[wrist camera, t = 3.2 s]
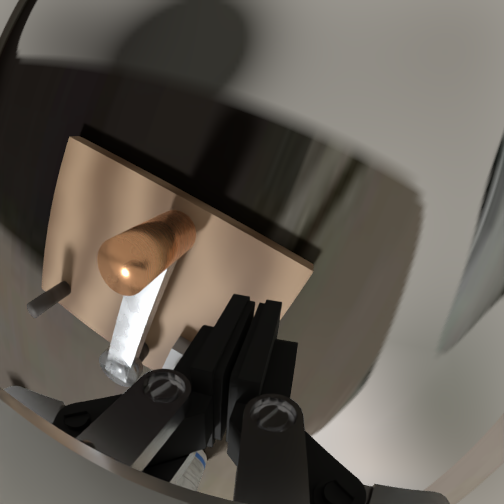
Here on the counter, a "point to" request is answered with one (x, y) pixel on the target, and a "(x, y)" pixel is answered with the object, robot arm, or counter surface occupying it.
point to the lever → (140, 284)
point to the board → (185, 270)
